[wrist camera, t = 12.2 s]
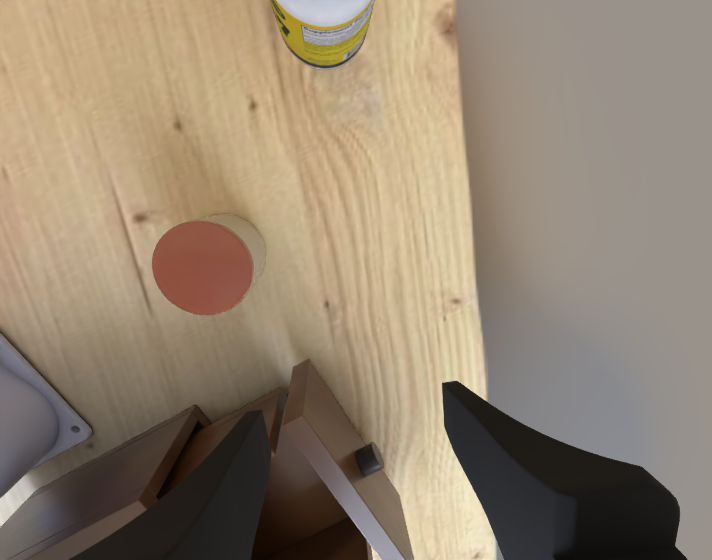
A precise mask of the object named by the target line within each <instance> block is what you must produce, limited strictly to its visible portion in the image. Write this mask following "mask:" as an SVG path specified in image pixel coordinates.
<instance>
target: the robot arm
mask: <svg viewBox="0 0 712 560" xmlns="http://www.w3.org/2000/svg"><path fill="white" fill-rule="evenodd" d="M0 347H1V348H0V498H1V497H2V496H3V495H5V494H6V493H7V492H8V491H9V490H10V489H11V488H12V487H13V486H14V485H15V484H16V483H17V482H18V481H19V480H20V479H21V478H22V477H23V476H24V475H25V474H26V473H27V472H29V471H30V470H32V469H33V468H35V467H37V466H39V465H41V464H43V463H44V462H46V461H48V460H50V459H52V458H54V457H55V456H57V455H59V454H61V453H63V452H65V451H66V450H68V449H70V448H72V447H74V446H76V445H77V444H79V443H81V442H83V441H85V440H87V439H88V438H89V437H90V436H91V434H92V430H91V428H90V427H89V426H88V425H87V424H86V423H85V422H84V421H83V420H82V419H81V417H80V416H79V415H78V414H77V413H76V412H75V411H74V410H73V409H72V408H71V407H70V406H69V405H68V404H67V403H66V402H65V401H64V400H63V398H62V397H61V396H60V395H59V394H58V393H57V392H56V391H55V390H54V389H53V388H52V387H51V386H50V385H49V384H48V383H47V382H46V381H45V380H44V378H43V377H42V376H41V375H40V374H39V373H38V372H37V371H36V370H35V369H34V368H33V367H32V366H31V365H30V364H29V363H28V362H27V361H26V360H25V358H24V357H23V356H22V355H21V354H20V353H19V352H18V351H17V350H16V349H15V348H14V347H13V346H12V345H11V344H10V343H9V342H8V341H7V339H6V338H5V337H4V336H3V335H2V334H1V333H0ZM442 391H443V410H444V426H445V429H446V432H447V435H448V438H449V440H450V443H451V445H452V448H453V450H454V452H455V454H456V456H457V458H458V460H459V462H460V464H461V466H462V468H463V470H464V472H465V474H466V476H467V478H468V480H469V482H470V483H471V485H472V487H473V489H474V491H475V493H476V495H477V497H478V499H479V501H480V503H481V505H482V507H483V509H484V511H485V513H486V515H487V518H488V520H489V523H490V525H491V528H492V530H493V533H494V535H495V537H496V540H497V542H498V545H499V547H500V550H501V553H502V555H503V557H504V560H687V558H686V557H685V556H684V555H683V554H682V553H681V552H680V551H679V550H678V549H677V548H676V547H675V542H676V537H677V532H678V526H679V521H680V520H679V519H680V507H679V505H678V502H677V499H676V498H675V497H674V496H673V495H672V494H671V492H670V491H669V490H667V489H666V488H665V487H664V486H663V485H662V484H661V483H660V482H659V481H657V480H656V479H655V478H654V477H653V476H652V475H651V474H650V473H648V472H647V471H646V470H645V469H644V468H643V467H640V466H637V465H633V464H629V463H625V462H621V461H617V460H613V459H610V458H606V457H602V456H599V455H596V454H593V453H590V452H587V451H584V450H581V449H578V448H576V447H573V446H570V445H568V444H565V443H563V442H560V441H558V440H556V439H553V438H551V437H549V436H546V435H544V434H542V433H540V432H538V431H536V430H534V429H532V428H530V427H528V426H526V425H524V424H522V423H520V422H518V421H516V420H515V419H513V418H511V417H510V416H508V415H506V414H505V413H503V412H501V411H500V410H498V409H497V408H495V407H494V406H492V405H491V404H489V403H488V402H486V401H485V400H483V399H482V398H480V397H479V396H478V395H476V394H475V393H473V392H472V391H471V390H469V389H468V388H467V387H465V386H464V385H462V384H461V383H459V382H458V381H452V382H445V383H442ZM76 426H77V427H79V428H77V427H76ZM271 454H272V451H271V447H270V442H269V438H268V433H267V429H266V424H265V420H264V415H263V411H262V409H261V410H254V411H247V412H246V413H245V414H244V415H243V416H242V417H241V419H240V420H239V421H238V422H237V423H236V425H235V426H234V427H233V428H232V429H231V430H230V432H229V433H228V434H227V435H226V436H225V437H224V439H223V440H222V441H221V442H220V443H219V444H218V445H217V447H216V448H215V449H214V450H213V451H212V452H211V453H210V454H209V455H208V456H207V457H206V458H205V459H204V460H203V461H202V462H201V463H200V464H199V465H198V466H197V467H196V468H195V469H194V470H193V471H192V472H191V473H190V474H189V475H188V476H187V477H186V478H185V479H184V480H183V481H181V482H180V483H179V484H178V485H177V486H176V487H175V488H173V489H172V490H171V491H170V492H169V493H167V494H166V495H165V496H164V497H162V498H161V499H160V500H158V501H157V502H156V503H155V504H153V505H152V506H151V507H150V508H148V509H147V510H146V511H144V512H143V513H142V514H140V515H139V516H137V517H136V518H134V519H133V520H132V521H130V522H129V523H127V524H126V525H124V526H123V527H121V528H120V529H118V530H117V531H115V532H114V533H112V534H111V535H109V536H107V537H106V538H104V539H103V540H101V541H99V542H98V543H96V544H94V545H92V546H91V547H89V548H87V549H86V550H84V551H82V552H81V553H79V554H77V555H76V556H74V557H72V558H70V559H68V560H251V553H252V548H253V543H254V538H255V534H256V530H257V526H258V522H259V518H260V514H261V509H262V505H263V501H264V497H265V493H266V488H267V484H268V480H269V473H270V464H271Z"/></svg>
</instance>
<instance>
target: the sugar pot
mask: <svg viewBox="0 0 712 560" xmlns="http://www.w3.org/2000/svg"><path fill="white" fill-rule="evenodd" d="M266 257H267V253H266V247H265V243H264V241H263V238H262V237H261V235H260V233H259V232H258V231H257V229H256V228H255V227H254V226H253V225H251V224H250V223H249V222H247V221H246V220H244V219H242V218H240V217H237V216H234V215H230V214H217V215H212V216H208V217H205V218H201V219H197V220H193V221H190V222H186V223H183V224H180V225H177V226H175V227H173V228H172V229H170V230H169V231H167V232H166V233H165V234H164V235H163V236H162V238H161V239H160V240H159V242H158V243H157V245H156V248H155V250H154V254H153V259H152V270H153V275H154V278H155V281H156V283H157V285H158V287H159V289H160V290H161V292H162V293H163V294H164V296H165V297H166V298H167V299H168V300H169V301H170V302H171V303H173V304H174V305H176V306H177V307H179V308H181V309H183V310H185V311H187V312H190V313H194V314H199V315H215V314H220V313H223V312H226V311H228V310H230V309H232V308H233V307H235V306H236V305H237V304H239V303H240V302H241V301H242V299H243V298H244V297H245V296H246V294H247V293H248V292H249V290H250V289H251V288H252V286H253V285H254V284H255V282H256V281H257V279H258V278H259V277H260V275H261V274H262V272H263V270H264V268H265V264H266Z"/></svg>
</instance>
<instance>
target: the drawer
mask: <svg viewBox="0 0 712 560" xmlns="http://www.w3.org/2000/svg"><path fill="white" fill-rule="evenodd" d="M261 409H262V411H263V415H264V420H265V424H266V429H267V433H268V438H269V442H270V447H271V451H272V454H271V464H270V473H269V480H268V484H267V488H266V493H265V497H264V501H263V505H262V509H261V514H260V518H259V522H258V526H257V530H256V534H255V538H254V543H253V548H252V553H251V560H373V558H372V550H371V546H372V548H373V549H374V550H375V552H376V553H377V554H378V556H379V557H380V558H381V560H414V557H413V553H412V548H411V544H410V540H409V535H408V531H407V526H406V522H405V518H404V513H403V509H402V505H401V500H400V496H399V494H398V492H397V491H396V489H395V488H394V486H393V485H392V483H391V482H390V480H389V479H388V477H387V476H386V474H385V473H384V471H383V470H382V469H383V468H384V463H383V459H382V456H381V454H380V452H379V449H378V448H377V446H376V445H375V443H373V442H371V443H369V444H367V445H366V444H365V443H364V441H363V440H362V438H361V437H360V435H359V434H358V432H357V431H356V429H355V428H354V426H353V425H352V423H351V421H350V420H349V418H348V417H347V415H346V414H345V412H344V411H343V409H342V408H341V406H340V405H339V403H338V402H337V400H336V399H335V397H334V396H333V394H332V393H331V391H330V390H329V388H328V387H327V385H326V384H325V382H324V381H323V379H322V378H321V376H320V375H319V373H318V372H317V370H316V369H315V367H314V366H313V364H312V363H311V361H310V360H309V359H307V360H305V361H303V362H302V363H300V364H298V365H296V366H294V367H293V372H292V377H291V382H290V387H289V393H288V396H287V395H286V393H285V392H284V390H283V389H282V388H281V387H280V388H278V389H276V390H274V391H272V392H270V393H269V394H267V395H265V396H263V397H261V398H259V399H257V400H255V401H254V402H252V403H250V404H248V405H246V406H244V407H242V408H240V409H239V410H237V411H235V412H233V413H231V414H229V415H227V416H226V417H224V418H222V419H220V420H218V421H216V422H214V423H212V424H211V425H209V426H207V427H205V428H203V429H201V430H199V431H197V432H196V433H194V434H192V435H190V436H189V438H188V440H187V441H186V443H185V445H184V447H183V449H182V450H181V452H180V454H179V456H178V458H177V460H176V461H175V463H174V465H173V467H172V469H171V470H170V472H169V474H168V476H167V478H166V479H165V481H164V483H163V485H162V487H161V489H160V490H159V492H158V494H157V496H156V498H157V499H158V500H160V499H161V498H162V497H164V496H165V495H166V494H167V493H169V492H170V491H171V490H172V489H173V488H175V487H176V486H177V485H178V484H179V483H180V482H181V481H183V480H184V479H185V478H186V477H187V476H188V475H189V474H190V473H191V472H192V471H193V470H194V469H195V468H196V467H197V466H198V465H199V464H200V463H201V462H202V461H203V460H204V459H205V458H206V457H207V456H208V455H209V454H210V453H211V452H212V451H213V450H214V449H215V448H216V447H217V445H218V444H219V443H220V442H221V441H222V440H223V439H224V437H225V436H226V435H227V434H228V433H229V432H230V430H231V429H232V428H233V427H234V426H235V425H236V423H237V422H238V421H239V420H240V419H241V417H242V416H243V415H244V414H245V413H246V412H247V411H254V410H261Z"/></svg>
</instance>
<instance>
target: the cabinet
mask: <svg viewBox="0 0 712 560" xmlns="http://www.w3.org/2000/svg"><path fill="white" fill-rule="evenodd" d="M209 425H211V423H210V421H209V420H208V419H207V418H206V416H205V415H204V414H203V413H202V412H201V410H200V409H199V408H198V407H197V405H194V406H192V407H190V408H188V409H186V410H185V411H183V412H181V413H179V414H177V415H175V416H173V417H172V418H170V419H168V420H166V421H164V422H162V423H160V424H159V425H157V426H155V427H153V428H151V429H149V430H148V431H146V432H144V433H142V434H140V435H138V436H136V437H135V438H133V439H131V440H129V441H127V442H125V443H123V444H122V445H120V446H118V447H116V448H114V449H112V450H111V451H109V452H107V453H105V454H103V455H101V456H99V457H98V458H96V459H94V460H92V461H90V462H88V463H86V464H85V465H83V466H81V467H79V468H77V469H75V470H74V471H72V472H70V473H68V474H66V475H64V476H62V477H61V478H59V479H57V480H55V481H53V482H51V483H49V484H48V485H46V486H44V487H42V488H40V489H38V490H37V491H35V492H34V493H33V494H32V495H31V496H30V497H29V498H28V499H27V501H25V502H24V503H23V504H22V505H21V506H20V507H19V508H18V510H17V511H16V512H15V513H14V514H13V515H12V516H11V517H10V518H9V519H8V520H7V521H6V522H5V523H4V524H3V525H2V526H1V527H0V560H68V559H70V558H72V557H74V556H76V555H77V554H79V553H81V552H82V551H84V550H86V549H87V548H89V547H91V546H92V545H94V544H96V543H98V542H99V541H101V540H103V539H104V538H106V537H107V536H109V535H111V534H112V533H114V532H115V531H117V530H118V529H120V528H121V527H123V526H124V525H126V524H127V523H129V522H130V521H132V520H133V519H134V518H136V517H137V516H139V515H140V514H142V513H143V512H144V511H146V510H147V509H148V508H150V507H151V506H152V505H153V504H155V503H156V502H157V501H158V499H157V498H156V496H157V494H158V492H159V490H160V489H161V487H162V485H163V483H164V481H165V479H166V478H167V476H168V474H169V472H170V470H171V469H172V467H173V465H174V463H175V461H176V460H177V458H178V456H179V454H180V452H181V450H182V449H183V447H184V445H185V443H186V441H187V440H188V438H189V436H190V435H192V434H194V433H196V432H197V431H199V430H201V429H203V428H205V427H207V426H209Z"/></svg>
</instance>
